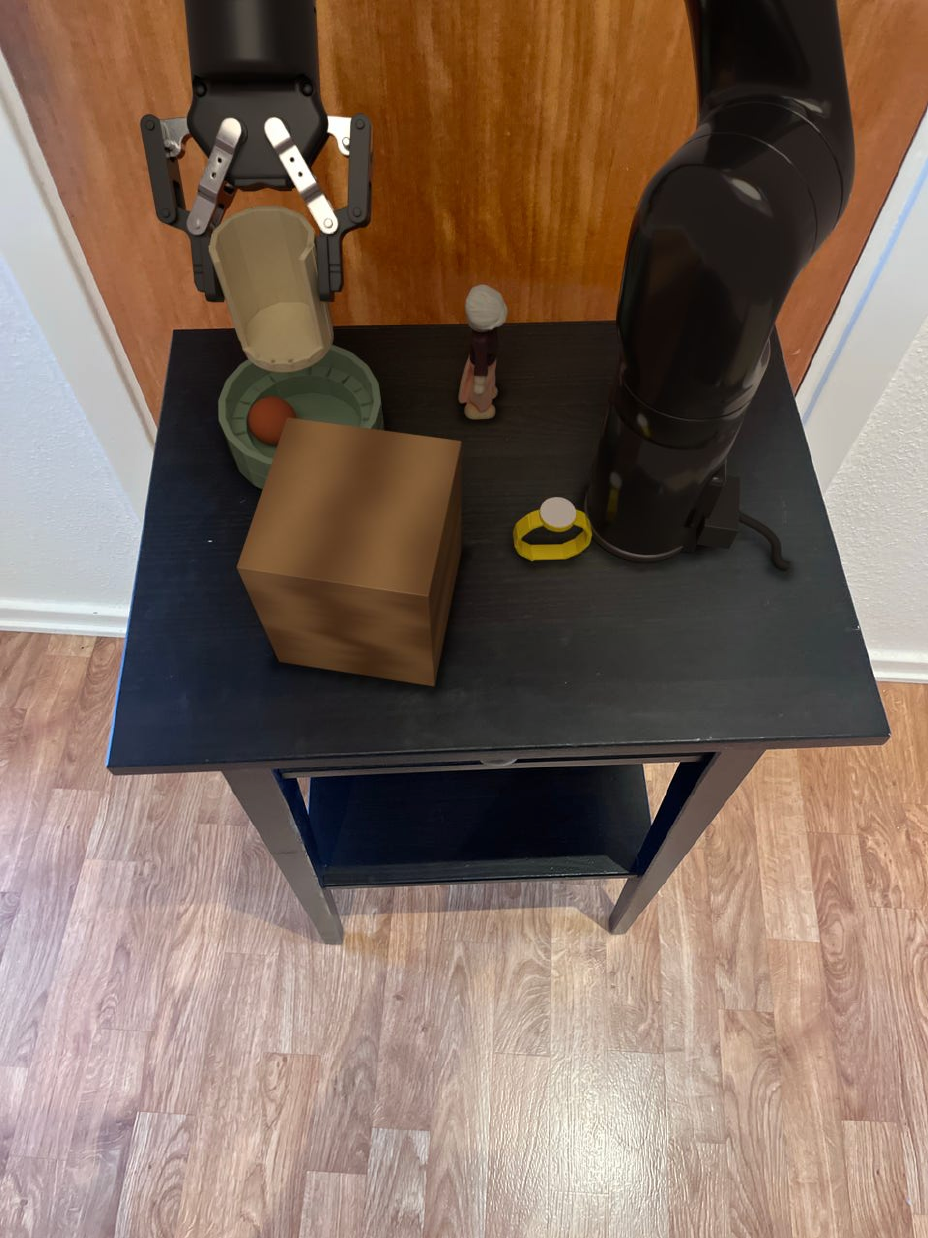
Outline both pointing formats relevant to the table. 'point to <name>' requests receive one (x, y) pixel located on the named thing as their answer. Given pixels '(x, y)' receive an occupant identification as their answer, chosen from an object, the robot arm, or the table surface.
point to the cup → (273, 287)
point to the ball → (269, 419)
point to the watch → (558, 519)
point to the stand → (357, 549)
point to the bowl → (297, 403)
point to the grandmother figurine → (482, 351)
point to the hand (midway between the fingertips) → (271, 300)
